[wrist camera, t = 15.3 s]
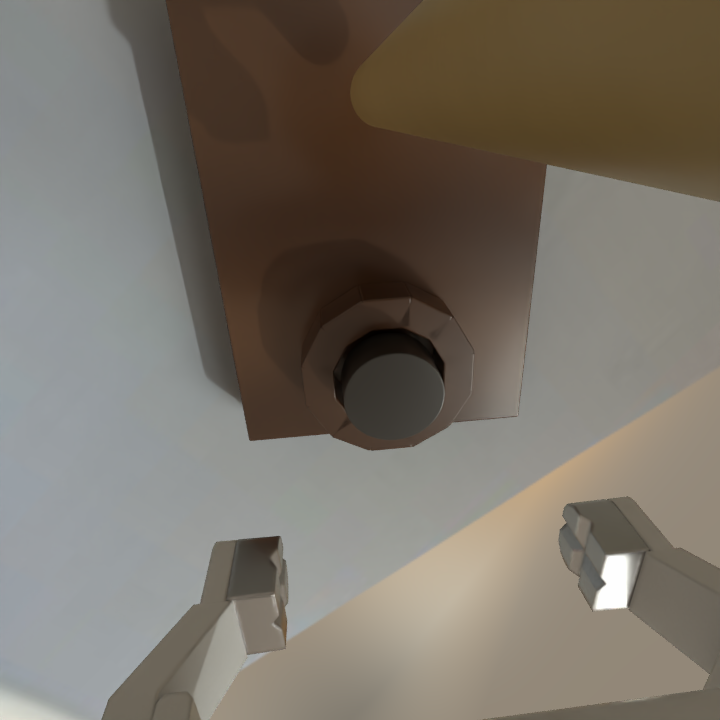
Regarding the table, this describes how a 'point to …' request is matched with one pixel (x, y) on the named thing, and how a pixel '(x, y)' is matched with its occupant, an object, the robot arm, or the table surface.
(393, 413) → the button
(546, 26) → the lamp
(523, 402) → the table surface
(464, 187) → the lamp base
